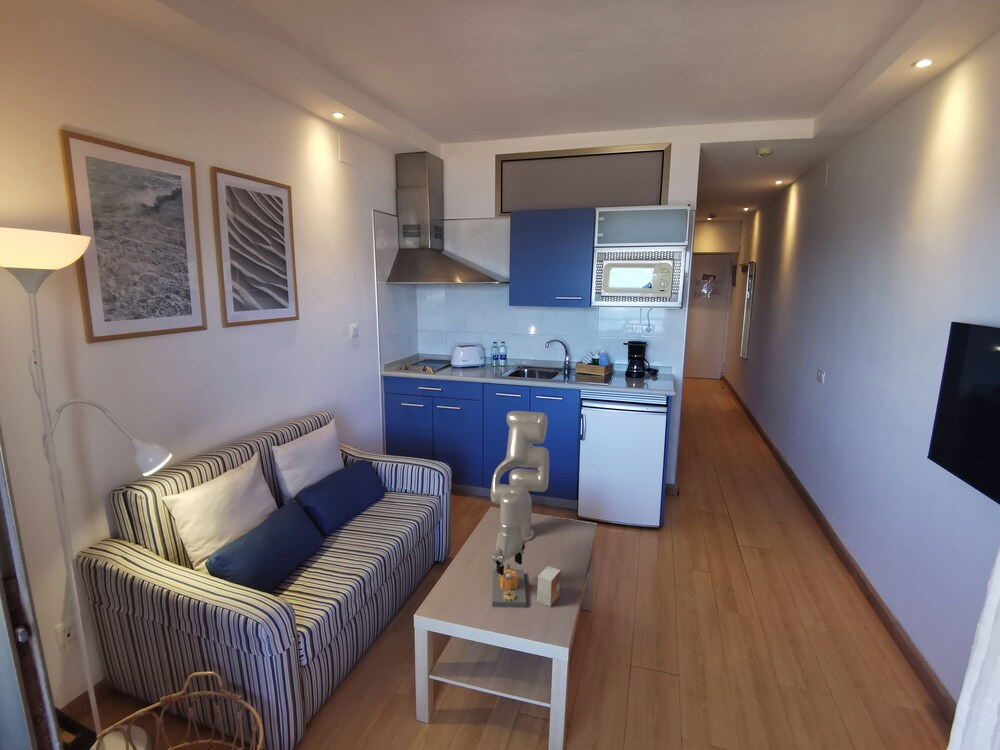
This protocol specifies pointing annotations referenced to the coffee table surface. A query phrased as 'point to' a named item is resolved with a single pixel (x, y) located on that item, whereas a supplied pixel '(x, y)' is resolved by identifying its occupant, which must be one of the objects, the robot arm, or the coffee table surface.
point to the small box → (548, 586)
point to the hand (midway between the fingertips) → (509, 568)
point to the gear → (509, 580)
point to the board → (508, 591)
